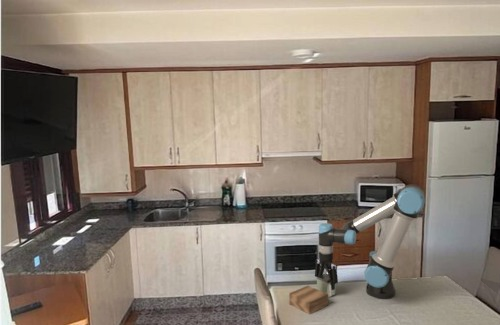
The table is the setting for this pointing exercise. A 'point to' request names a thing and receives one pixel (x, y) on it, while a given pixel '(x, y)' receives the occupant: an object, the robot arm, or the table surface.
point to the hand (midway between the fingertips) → (326, 292)
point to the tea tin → (324, 284)
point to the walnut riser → (308, 299)
